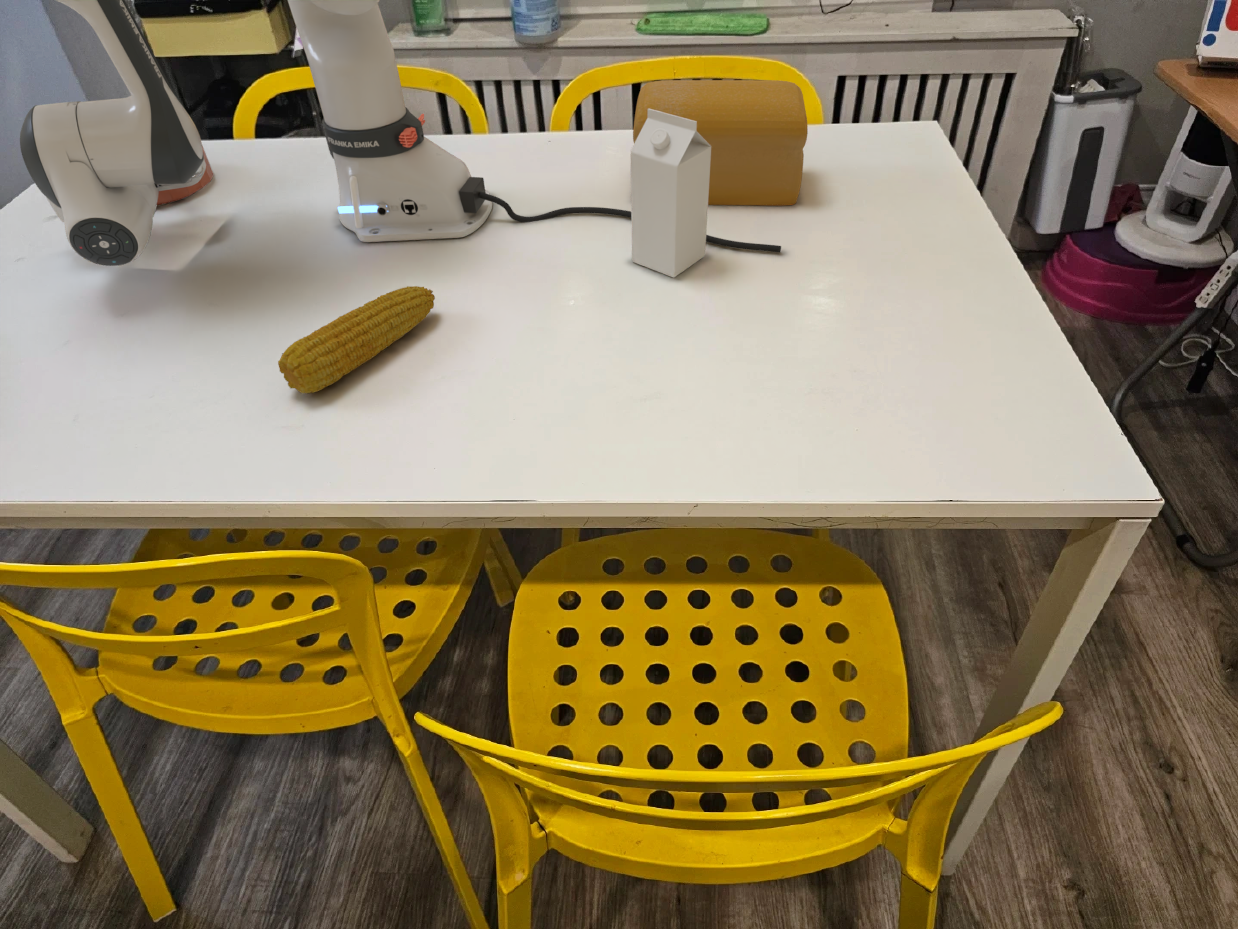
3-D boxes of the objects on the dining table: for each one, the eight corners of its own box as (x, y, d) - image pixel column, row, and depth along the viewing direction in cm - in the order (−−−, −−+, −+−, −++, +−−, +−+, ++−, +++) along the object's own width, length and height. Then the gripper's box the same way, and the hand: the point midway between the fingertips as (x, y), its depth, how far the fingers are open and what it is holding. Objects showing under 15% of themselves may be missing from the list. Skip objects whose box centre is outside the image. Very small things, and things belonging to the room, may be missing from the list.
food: (316, 409, 86) (298, 365, 81) (281, 392, 88) (263, 348, 84) (448, 316, 98) (439, 273, 94) (415, 303, 100) (405, 261, 96)
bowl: (233, 168, 132) (222, 137, 128) (181, 213, 120) (167, 181, 117) (143, 164, 134) (130, 134, 130) (84, 208, 122) (68, 177, 119)
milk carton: (663, 241, 110) (665, 99, 97) (705, 257, 107) (713, 112, 94) (631, 262, 106) (629, 117, 93) (674, 279, 103) (678, 131, 90)
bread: (633, 204, 119) (631, 100, 108) (638, 168, 128) (637, 69, 117) (798, 206, 117) (813, 101, 106) (791, 169, 126) (804, 69, 115)
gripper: (193, 154, 106) (198, 118, 115) (23, 178, 101) (43, 139, 111) (211, 199, 110) (214, 161, 120) (49, 224, 106) (66, 182, 115)
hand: (131, 150), depth 115 cm, fingers open, 8 cm apart
